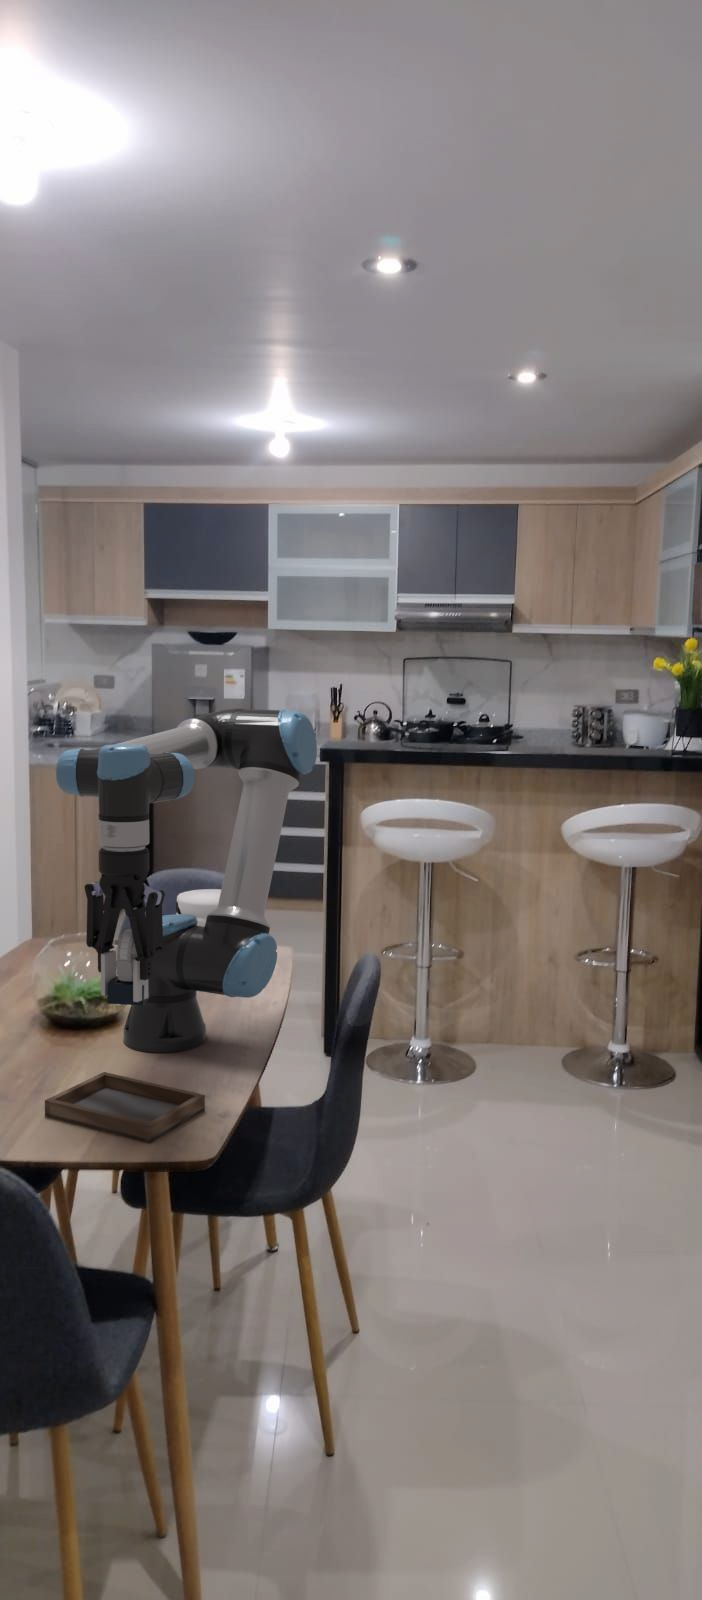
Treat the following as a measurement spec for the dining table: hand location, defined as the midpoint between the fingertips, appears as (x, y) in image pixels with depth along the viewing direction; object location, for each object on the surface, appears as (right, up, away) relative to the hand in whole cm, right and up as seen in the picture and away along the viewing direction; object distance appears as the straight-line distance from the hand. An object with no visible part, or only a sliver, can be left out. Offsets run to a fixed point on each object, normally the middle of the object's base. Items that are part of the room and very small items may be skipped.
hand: (124, 996), depth 173 cm
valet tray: (0, -19, +2) cm, 19 cm away
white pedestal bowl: (+3, -9, +81) cm, 82 cm away
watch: (0, -1, +1) cm, 1 cm away
